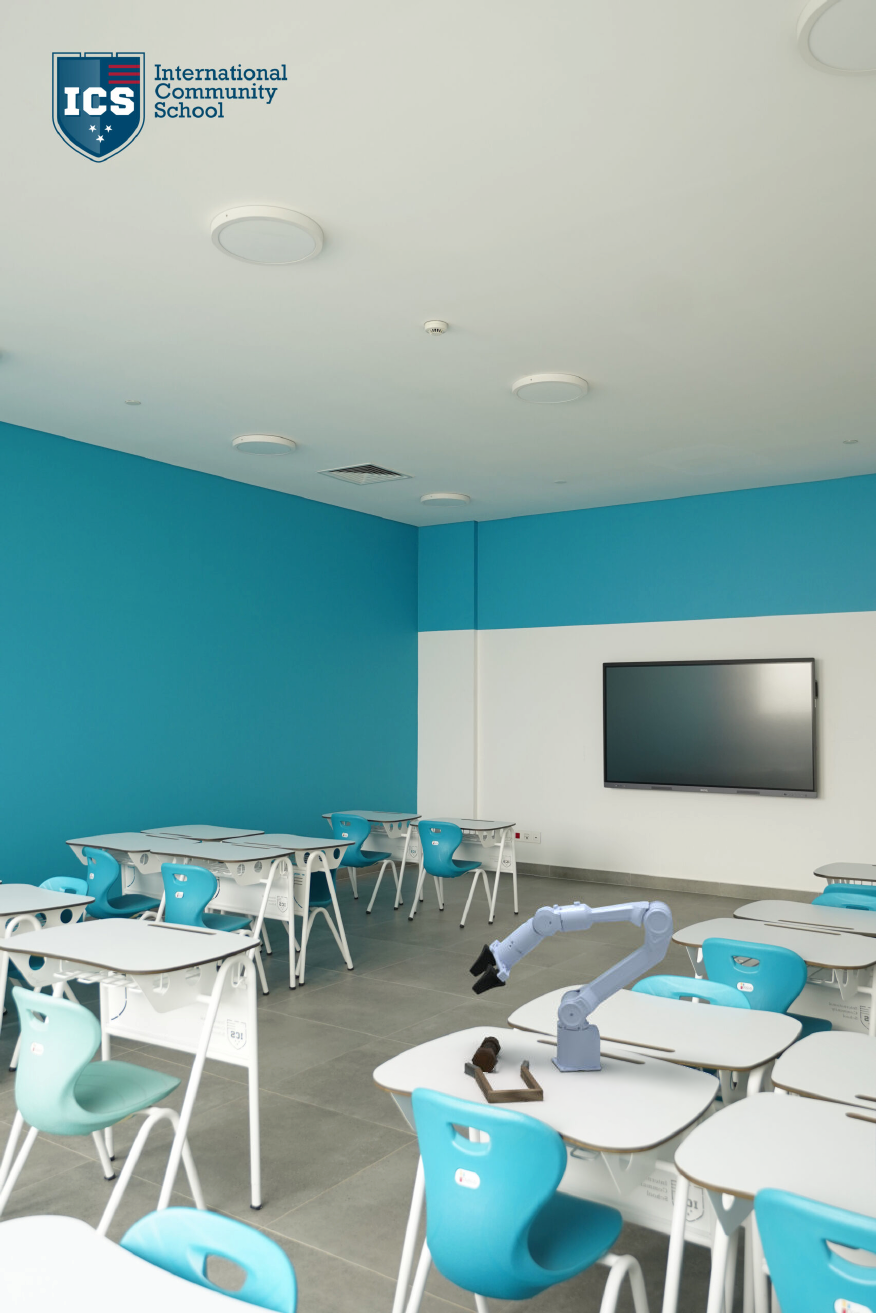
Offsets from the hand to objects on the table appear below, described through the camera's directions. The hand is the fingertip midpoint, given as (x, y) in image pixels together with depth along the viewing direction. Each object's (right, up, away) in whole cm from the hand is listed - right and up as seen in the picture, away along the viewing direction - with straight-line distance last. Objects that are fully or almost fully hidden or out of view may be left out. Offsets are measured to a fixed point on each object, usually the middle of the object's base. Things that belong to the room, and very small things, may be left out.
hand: (473, 982), depth 222 cm
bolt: (+3, -17, -4) cm, 18 cm away
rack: (+6, -15, -19) cm, 25 cm away
